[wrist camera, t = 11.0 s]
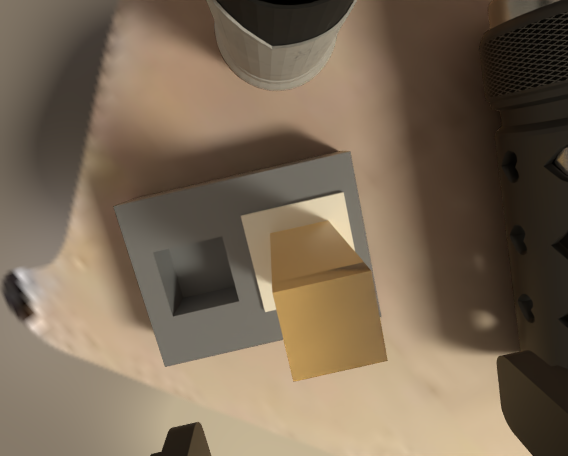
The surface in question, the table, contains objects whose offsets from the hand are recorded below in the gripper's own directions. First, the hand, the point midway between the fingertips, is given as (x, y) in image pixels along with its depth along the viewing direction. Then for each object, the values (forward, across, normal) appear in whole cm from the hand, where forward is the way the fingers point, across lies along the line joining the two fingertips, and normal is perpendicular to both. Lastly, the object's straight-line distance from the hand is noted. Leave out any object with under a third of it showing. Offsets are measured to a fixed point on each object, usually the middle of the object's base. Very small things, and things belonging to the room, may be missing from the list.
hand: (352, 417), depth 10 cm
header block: (+21, +3, 0) cm, 21 cm away
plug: (+16, 0, 0) cm, 17 cm away
